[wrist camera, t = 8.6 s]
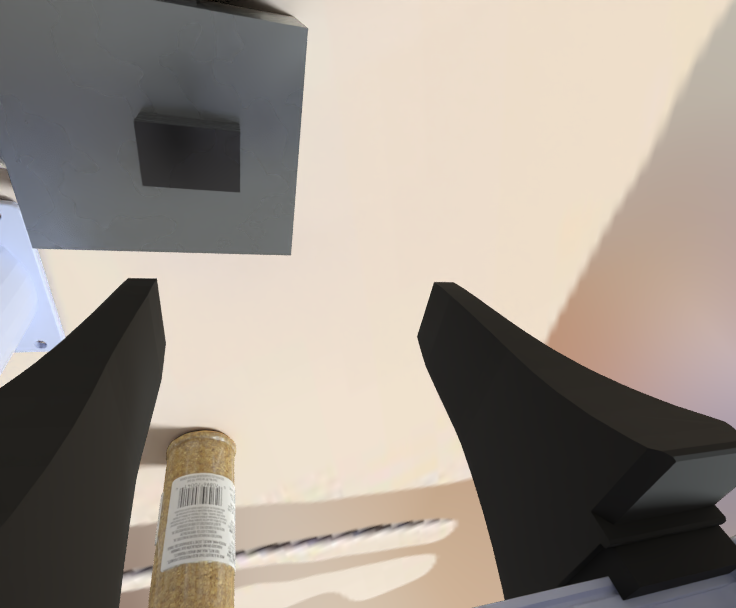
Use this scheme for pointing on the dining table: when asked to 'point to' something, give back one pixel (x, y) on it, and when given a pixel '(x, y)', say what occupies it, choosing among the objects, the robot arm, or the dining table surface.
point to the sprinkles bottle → (196, 525)
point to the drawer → (152, 124)
